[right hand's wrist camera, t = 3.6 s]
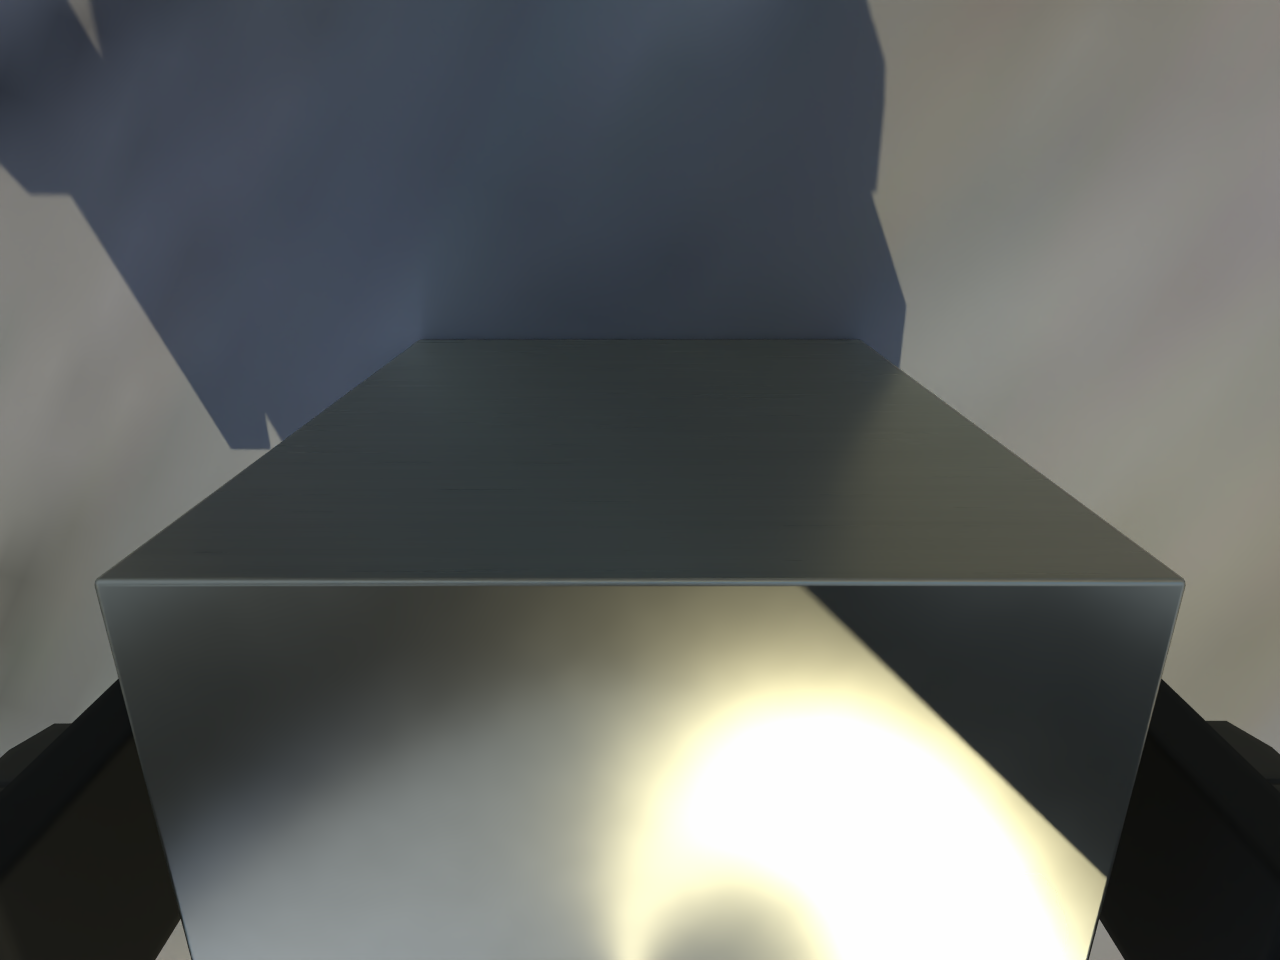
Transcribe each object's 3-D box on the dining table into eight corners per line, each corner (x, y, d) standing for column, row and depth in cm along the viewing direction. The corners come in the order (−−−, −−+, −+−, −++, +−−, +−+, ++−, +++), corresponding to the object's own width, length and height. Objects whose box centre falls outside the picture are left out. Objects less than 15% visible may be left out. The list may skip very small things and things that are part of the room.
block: (824, 729, 18) (1008, 1279, 9) (455, 729, 18) (272, 1278, 9) (861, 339, 15) (1191, 579, 6) (418, 339, 15) (89, 580, 6)
